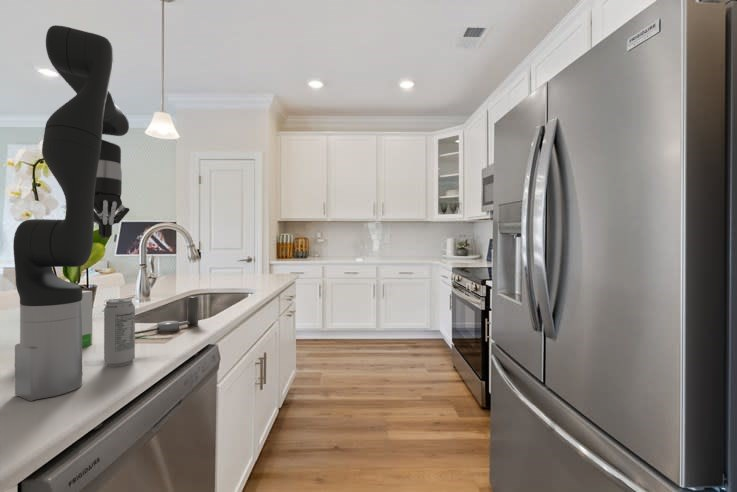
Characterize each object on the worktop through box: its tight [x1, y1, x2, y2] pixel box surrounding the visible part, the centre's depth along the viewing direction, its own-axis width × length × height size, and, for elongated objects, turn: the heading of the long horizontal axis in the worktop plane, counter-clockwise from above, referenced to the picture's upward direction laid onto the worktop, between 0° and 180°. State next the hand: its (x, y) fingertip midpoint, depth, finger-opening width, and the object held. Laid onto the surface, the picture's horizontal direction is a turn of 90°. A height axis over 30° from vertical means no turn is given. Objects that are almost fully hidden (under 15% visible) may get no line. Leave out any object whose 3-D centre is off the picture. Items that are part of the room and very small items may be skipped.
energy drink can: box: [103, 298, 136, 368], centre depth 87 cm, size 6×6×15 cm
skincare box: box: [82, 290, 93, 348], centre depth 95 cm, size 8×7×16 cm
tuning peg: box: [135, 295, 199, 334], centre depth 113 cm, size 19×6×9 cm, turn 148°
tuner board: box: [135, 324, 198, 344], centre depth 111 cm, size 22×13×1 cm, turn 2°
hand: (105, 237), depth 107 cm, fingers closed
